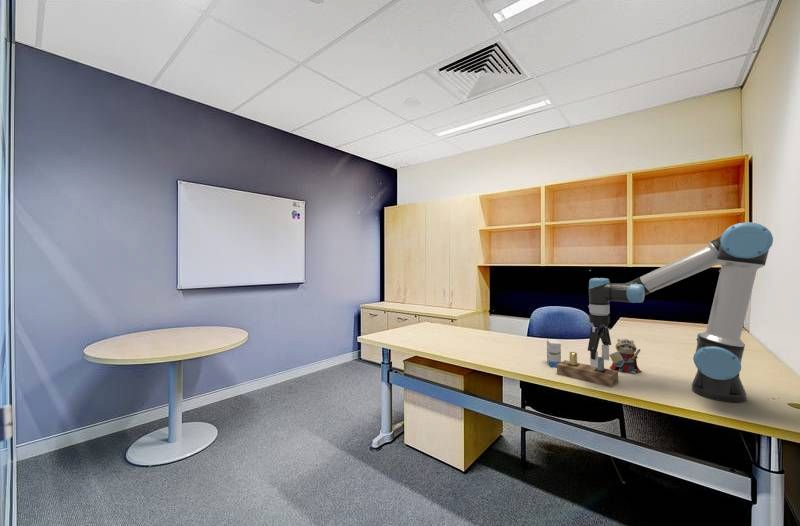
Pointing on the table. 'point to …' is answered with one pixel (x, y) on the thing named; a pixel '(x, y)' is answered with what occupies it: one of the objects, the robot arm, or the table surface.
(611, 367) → the figurine
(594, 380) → the hole block
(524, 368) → the table surface
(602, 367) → the steel peg
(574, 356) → the brass peg
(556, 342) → the ink box
